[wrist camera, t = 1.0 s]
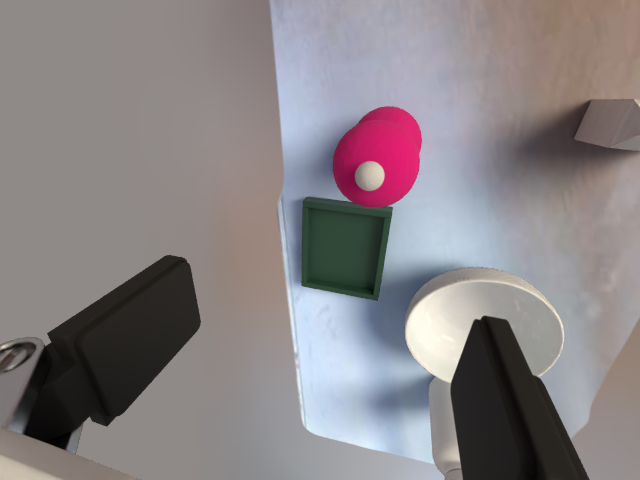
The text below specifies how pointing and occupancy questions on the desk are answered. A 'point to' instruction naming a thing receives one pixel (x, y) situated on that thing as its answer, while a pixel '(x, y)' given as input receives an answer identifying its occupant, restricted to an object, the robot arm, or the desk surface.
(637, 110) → the printed tea carton
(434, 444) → the pill bottle
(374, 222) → the tray
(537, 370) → the cereal bowl
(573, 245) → the desk surface
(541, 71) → the desk surface
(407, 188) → the pepper mill
